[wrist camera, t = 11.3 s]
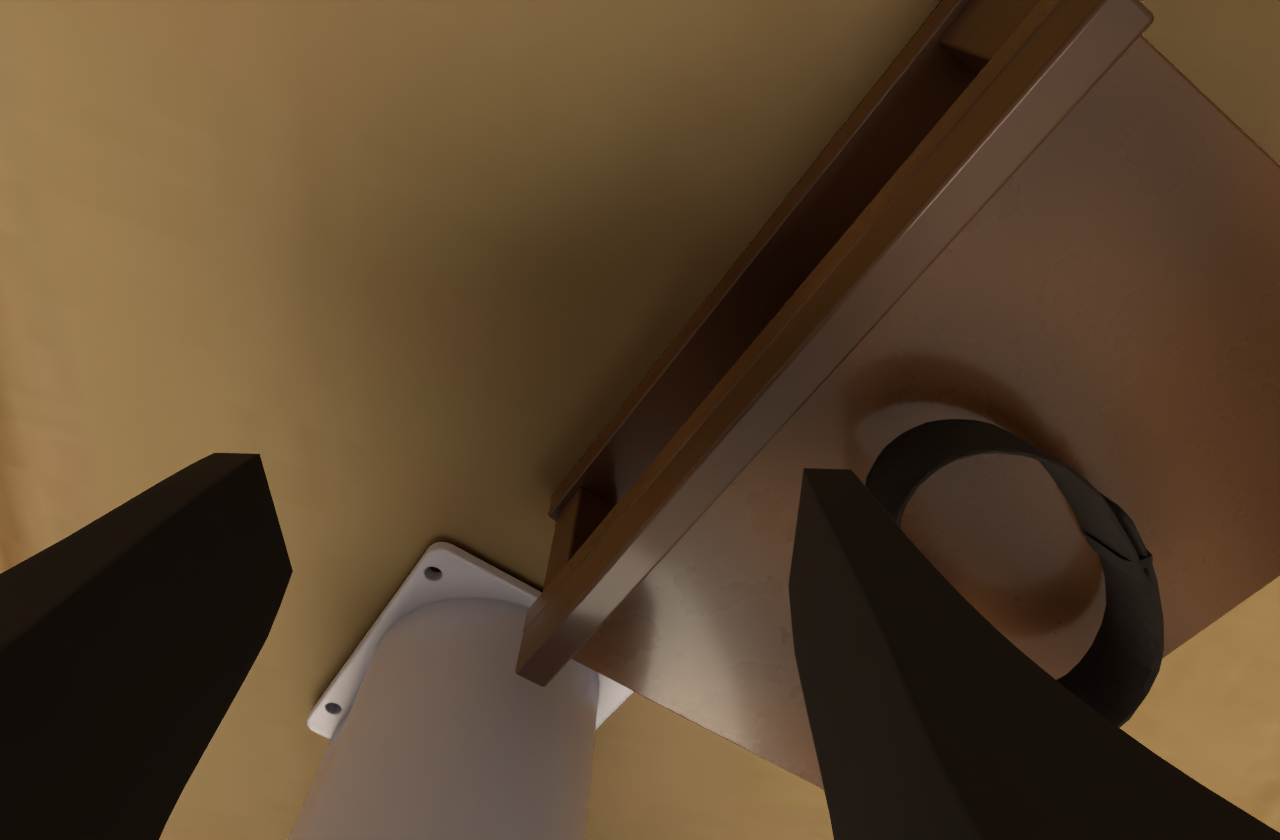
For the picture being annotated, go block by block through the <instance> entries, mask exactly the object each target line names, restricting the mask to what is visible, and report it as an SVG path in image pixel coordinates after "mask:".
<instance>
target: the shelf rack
mask: <svg viewBox="0 0 1280 840" xmlns="http://www.w3.org/2000/svg"><path fill="white" fill-rule="evenodd" d="M1153 20H1154V17H1153V14H1152V13H1151V12H1150V11H1149V10H1148V9H1147V8H1146V7H1145V6H1144V5H1143V4H1142V3H1141V2H1140V1H1139V0H942V1H941V2H940V3H939V5H938V6H937V7H936V9H935V10H934V11H933V12H932V14H931V15H930V16H929V17H928V19H927V20H926V21H925V23H924V24H923V25H922V26H921V28H920V29H919V30H918V31H917V33H916V34H915V35H914V37H913V38H912V39H911V40H910V42H909V43H908V44H907V45H906V47H905V48H904V49H903V50H902V52H901V53H900V54H899V56H898V57H897V58H896V59H895V61H894V62H893V63H892V64H891V66H890V67H889V68H888V70H887V71H886V72H885V73H884V75H883V76H882V77H881V78H880V80H879V81H878V82H877V83H876V85H875V86H874V87H873V89H872V90H871V91H870V92H869V94H868V95H867V96H866V97H865V99H864V100H863V101H862V103H861V104H860V105H859V106H858V108H857V109H856V110H855V111H854V113H853V114H852V115H851V117H850V118H849V119H848V120H847V122H846V123H845V124H844V125H843V127H842V128H841V129H840V130H839V132H838V133H837V134H836V136H835V137H834V138H833V139H832V141H831V142H830V143H829V144H828V146H827V147H826V148H825V150H824V151H823V152H822V153H821V155H820V156H819V157H818V158H817V160H816V161H815V162H814V163H813V165H812V166H811V167H810V169H809V170H808V171H807V172H806V174H805V175H804V176H803V177H802V179H801V180H800V181H799V183H798V184H797V185H796V186H795V188H794V189H793V190H792V191H791V193H790V194H789V195H788V197H787V198H786V199H785V200H784V202H783V203H782V204H781V205H780V207H779V208H778V209H777V210H776V212H775V213H774V214H773V216H772V217H771V218H770V219H769V221H768V222H767V223H766V224H765V226H764V227H763V228H762V230H761V231H760V232H759V233H758V235H757V236H756V237H755V238H754V240H753V241H752V242H751V243H750V245H749V246H748V247H747V249H746V250H745V251H744V252H743V254H742V255H741V256H740V257H739V259H738V260H737V261H736V263H735V264H734V265H733V266H732V268H731V269H730V270H729V271H728V273H727V274H726V275H725V277H724V278H723V279H722V280H721V282H720V283H719V284H718V285H717V287H716V288H715V289H714V290H713V292H712V293H711V294H710V296H709V297H708V298H707V299H706V301H705V302H704V303H703V304H702V306H701V307H700V308H699V310H698V311H697V312H696V313H695V315H694V316H693V317H692V318H691V320H690V321H689V322H688V324H687V325H686V326H685V327H684V329H683V330H682V331H681V332H680V334H679V335H678V336H677V337H676V339H675V340H674V341H673V343H672V344H671V345H670V346H669V348H668V349H667V350H666V351H665V353H664V354H663V355H662V357H661V358H660V359H659V360H658V362H657V363H656V364H655V365H654V367H653V368H652V369H651V370H650V372H649V373H648V374H647V376H646V377H645V378H644V379H643V381H642V382H641V383H640V384H639V386H638V387H637V388H636V390H635V391H634V392H633V393H632V395H631V396H630V397H629V398H628V400H627V401H626V402H625V404H624V405H623V406H622V407H621V409H620V410H619V411H618V412H617V414H616V415H615V416H614V417H613V419H612V420H611V421H610V423H609V424H608V425H607V426H606V428H605V429H604V430H603V431H602V433H601V434H600V435H599V437H598V438H597V439H596V440H595V442H594V443H593V444H592V445H591V447H590V448H589V449H588V450H587V452H586V453H585V454H584V456H583V457H582V458H581V459H580V461H579V462H578V463H577V464H576V466H575V467H574V468H573V470H572V471H571V472H570V473H569V475H568V476H567V477H566V478H565V480H564V481H563V482H562V484H561V485H560V486H559V487H558V489H557V490H556V491H555V492H554V494H553V495H552V499H551V503H550V508H549V513H548V516H549V517H551V518H553V519H554V520H556V521H557V522H556V527H555V532H554V537H553V542H552V547H551V552H550V557H549V562H548V568H547V573H546V578H545V583H544V588H543V592H542V593H541V595H540V596H539V597H538V598H537V599H536V600H535V602H534V603H533V604H532V605H531V606H530V608H529V609H528V610H527V614H526V619H525V624H524V629H523V636H522V641H521V645H520V650H519V655H518V660H517V664H516V669H515V673H516V674H517V675H519V676H521V677H523V678H525V679H527V680H529V681H531V682H533V683H535V684H537V685H539V686H541V687H546V686H547V685H548V683H549V682H550V681H551V680H552V679H553V678H554V677H555V676H556V675H557V674H558V673H559V671H560V670H561V669H562V668H563V667H564V666H565V665H566V664H567V663H568V662H569V661H570V659H572V660H574V661H576V662H578V663H580V664H582V665H584V666H586V667H588V668H590V669H592V670H594V671H596V672H598V673H600V674H601V675H603V676H605V677H607V678H609V679H611V680H613V681H615V682H617V683H619V684H621V685H623V686H625V687H627V688H629V689H631V690H632V691H634V692H636V693H638V694H640V695H642V696H644V697H646V698H648V699H650V700H652V701H654V702H656V703H658V704H660V705H661V706H663V707H665V708H667V709H669V710H671V711H673V712H675V713H677V714H679V715H681V716H683V717H685V718H687V719H689V720H690V721H692V722H694V723H696V724H698V725H700V726H702V727H704V728H706V729H708V730H710V731H712V732H714V733H716V734H718V735H719V736H721V737H723V738H725V739H727V740H729V741H731V742H733V743H735V744H737V745H739V746H741V747H743V748H745V749H747V750H748V751H750V752H752V753H754V754H756V755H758V756H760V757H762V758H764V759H766V760H768V761H770V762H772V763H774V764H776V765H777V766H779V767H781V768H783V769H785V770H787V771H789V772H791V773H793V774H795V775H797V776H799V777H801V778H803V779H805V780H807V781H808V782H810V783H812V784H814V785H816V786H818V787H820V788H822V789H824V786H823V782H822V777H821V773H820V768H819V763H818V759H817V754H816V750H815V745H814V741H813V736H812V732H811V727H810V723H809V718H808V714H807V709H806V705H805V700H804V695H803V691H802V686H801V682H800V677H799V672H798V667H797V663H796V658H795V651H794V641H793V631H792V621H791V610H790V599H789V587H788V586H789V578H790V570H791V562H792V555H793V547H794V539H795V532H796V524H797V516H798V508H799V501H800V493H801V485H802V477H803V470H804V468H816V469H851V470H852V471H853V472H854V473H855V474H856V476H857V477H858V478H859V479H860V480H861V481H862V483H863V484H864V485H865V482H866V477H867V475H868V473H869V471H870V469H871V468H872V466H873V464H874V462H875V460H876V459H877V457H878V456H879V454H880V453H881V452H882V450H883V449H884V447H886V446H887V445H888V444H889V443H890V442H892V441H893V440H894V439H895V438H896V437H898V436H899V435H901V434H902V433H904V432H906V431H908V430H910V429H912V428H914V427H916V426H919V425H921V424H924V423H926V422H931V421H936V420H946V419H968V420H978V421H982V422H986V423H990V424H994V425H996V426H998V427H1000V428H1002V429H1005V430H1007V431H1009V432H1011V433H1013V434H1015V435H1017V436H1019V437H1021V438H1022V439H1024V440H1026V441H1027V442H1029V443H1030V444H1032V445H1034V446H1035V447H1037V448H1039V449H1040V450H1042V451H1044V452H1045V453H1047V454H1048V455H1050V456H1052V457H1053V458H1055V459H1057V460H1058V461H1060V462H1062V463H1063V464H1065V465H1067V466H1068V467H1070V468H1071V469H1072V470H1074V471H1075V472H1077V473H1078V474H1079V475H1081V476H1082V477H1084V478H1085V479H1086V480H1088V481H1089V482H1090V483H1091V484H1092V486H1093V487H1094V488H1095V489H1096V490H1097V491H1098V492H1100V493H1101V494H1103V495H1104V496H1106V497H1107V498H1109V499H1110V500H1112V501H1113V502H1115V503H1116V504H1118V505H1119V506H1120V507H1121V508H1122V509H1123V510H1124V511H1125V512H1126V513H1127V514H1128V516H1129V517H1130V518H1131V519H1132V520H1133V522H1134V524H1135V526H1136V528H1137V531H1138V533H1139V535H1140V537H1141V539H1142V541H1143V543H1144V545H1145V547H1146V549H1147V550H1148V551H1149V552H1150V553H1151V554H1152V557H1153V562H1152V565H1153V568H1154V571H1155V574H1156V577H1157V582H1158V587H1159V593H1160V599H1161V605H1162V611H1163V617H1164V652H1163V656H1162V658H1164V657H1165V656H1166V655H1168V654H1169V653H1171V652H1172V651H1174V650H1175V649H1176V648H1178V647H1179V646H1181V645H1182V644H1183V643H1185V642H1186V641H1188V640H1189V639H1191V638H1192V637H1193V636H1195V635H1196V634H1198V633H1199V632H1200V631H1202V630H1203V629H1205V628H1206V627H1208V626H1209V625H1210V624H1212V623H1213V622H1215V621H1216V620H1217V619H1219V618H1220V617H1222V616H1223V615H1225V614H1226V613H1227V612H1229V611H1230V610H1232V609H1233V608H1234V607H1236V606H1237V605H1239V604H1240V603H1242V602H1243V601H1244V600H1246V599H1247V598H1249V597H1250V596H1251V595H1253V594H1254V593H1256V592H1257V591H1259V590H1260V589H1261V588H1263V587H1264V586H1266V585H1267V584H1269V583H1270V582H1271V581H1273V580H1274V579H1276V578H1277V577H1278V576H1280V166H1279V165H1278V164H1277V163H1276V162H1275V161H1274V160H1273V159H1272V158H1271V157H1270V156H1269V155H1268V154H1267V153H1266V152H1265V151H1264V150H1263V149H1262V148H1260V147H1259V146H1258V145H1257V144H1256V143H1255V142H1254V141H1253V140H1252V139H1251V138H1250V137H1249V136H1248V135H1247V134H1246V133H1245V132H1244V131H1242V130H1241V129H1240V128H1239V127H1238V126H1237V125H1236V124H1235V123H1234V122H1233V121H1232V120H1231V119H1230V118H1229V117H1228V116H1227V115H1226V114H1224V113H1223V112H1222V111H1221V110H1220V109H1219V108H1218V107H1217V106H1216V105H1215V104H1214V103H1213V102H1212V101H1211V100H1210V99H1209V98H1208V97H1206V96H1205V95H1204V94H1203V93H1202V92H1201V91H1200V90H1199V89H1198V88H1197V87H1196V86H1195V85H1194V84H1193V83H1192V82H1191V81H1190V80H1188V79H1187V78H1186V77H1185V76H1184V75H1183V74H1182V73H1181V72H1180V71H1179V70H1178V69H1177V68H1176V67H1175V66H1174V65H1173V64H1172V63H1171V62H1169V61H1168V60H1167V59H1166V58H1165V57H1164V56H1163V55H1162V54H1161V53H1160V52H1159V51H1158V50H1157V49H1156V48H1155V47H1154V46H1153V45H1151V44H1150V43H1149V42H1148V41H1147V40H1146V39H1145V38H1144V37H1143V36H1142V35H1141V34H1142V33H1143V32H1144V31H1145V30H1146V29H1147V28H1148V27H1149V25H1150V24H1151V23H1152V22H1153ZM901 529H902V531H903V532H904V533H905V534H906V535H907V536H908V538H909V539H910V540H911V541H912V542H913V543H914V544H915V546H916V547H917V548H918V549H919V550H920V551H921V552H922V553H923V554H924V556H925V557H926V558H927V559H928V560H929V561H930V562H931V563H932V564H933V565H934V566H935V568H936V569H937V570H938V571H939V572H940V573H941V574H942V575H943V576H944V577H945V578H946V579H947V581H948V582H949V583H950V584H951V585H952V586H953V587H954V588H955V589H956V590H957V591H958V592H959V593H960V594H961V595H962V596H963V597H964V598H965V599H966V600H967V601H968V602H969V603H970V604H971V605H972V606H973V607H974V608H975V609H976V610H977V611H978V612H979V613H980V614H981V615H982V616H983V617H985V618H986V619H987V620H988V621H989V622H990V623H991V624H992V625H993V626H994V627H995V628H996V629H997V630H998V631H999V632H1000V633H1001V634H1003V635H1004V636H1005V637H1006V638H1007V639H1008V640H1009V641H1010V642H1012V643H1013V644H1014V645H1015V646H1016V647H1017V648H1018V649H1019V650H1021V651H1022V652H1023V653H1024V654H1025V655H1027V656H1028V657H1029V658H1030V659H1031V660H1033V661H1034V662H1035V663H1036V664H1037V665H1039V666H1040V667H1041V668H1042V669H1043V670H1045V671H1046V672H1047V673H1048V674H1049V675H1051V676H1052V677H1053V678H1054V679H1055V680H1057V679H1059V678H1061V677H1062V676H1064V675H1066V674H1067V673H1068V672H1069V671H1070V670H1072V669H1073V668H1074V667H1075V666H1076V665H1077V664H1078V663H1079V662H1080V661H1081V659H1082V658H1083V657H1084V655H1085V654H1086V653H1087V651H1088V650H1089V648H1090V647H1091V646H1092V644H1093V641H1094V639H1095V637H1096V635H1097V633H1098V631H1099V628H1100V626H1101V624H1102V620H1103V616H1104V612H1105V607H1106V591H1105V576H1104V573H1103V569H1102V565H1101V561H1100V558H1099V554H1097V553H1096V552H1095V551H1094V550H1093V549H1092V548H1091V547H1090V546H1089V545H1088V543H1087V540H1086V538H1085V535H1084V534H1083V532H1082V529H1081V525H1080V523H1079V520H1078V518H1077V515H1076V513H1075V512H1074V510H1073V509H1072V507H1071V505H1070V504H1069V502H1068V501H1067V499H1066V498H1065V496H1064V495H1063V493H1062V491H1061V490H1060V488H1059V487H1058V485H1057V484H1056V482H1055V481H1054V479H1053V478H1052V476H1051V475H1050V474H1049V472H1048V471H1047V470H1046V469H1045V468H1044V467H1043V465H1042V464H1041V463H1040V462H1039V461H1038V460H1036V459H1032V458H1029V457H1025V456H1020V455H1010V454H1000V453H995V454H982V455H975V456H971V457H968V458H964V459H961V460H957V461H954V462H952V463H950V464H948V465H946V466H945V467H943V468H941V469H939V470H937V471H936V472H935V473H934V474H932V475H931V476H930V477H929V478H928V479H927V480H925V481H924V482H923V483H922V484H921V485H920V486H919V487H918V488H917V490H916V491H915V493H914V494H913V496H912V498H911V499H910V501H909V502H908V504H907V505H906V508H905V511H904V514H903V516H902V521H901Z"/></svg>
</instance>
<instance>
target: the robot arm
mask: <svg viewBox="0 0 1280 840" xmlns="http://www.w3.org/2000/svg"><path fill="white" fill-rule="evenodd" d="M429 567H436V568H438V569H439V570H441V572H435V571H432V570H431V569H429ZM291 574H292V567H291V563H290V560H289V556H288V553H287V549H286V546H285V542H284V539H283V535H282V532H281V528H280V525H279V521H278V518H277V514H276V510H275V507H274V503H273V500H272V496H271V493H270V489H269V486H268V482H267V479H266V475H265V472H264V468H263V465H262V461H261V457H260V454H239V453H213V454H211V455H209V456H207V457H205V458H203V459H201V460H199V461H197V462H195V463H193V464H191V465H190V466H188V467H186V468H184V469H182V470H180V471H179V472H177V473H175V474H173V475H172V476H170V477H168V478H166V479H165V480H163V481H161V482H160V483H158V484H156V485H154V486H153V487H151V488H149V489H148V490H146V491H144V492H143V493H141V494H139V495H138V496H136V497H134V498H132V499H131V500H129V501H127V502H126V503H124V504H122V505H121V506H119V507H117V508H116V509H114V510H112V511H110V512H109V513H107V514H105V515H104V516H102V517H100V518H99V519H97V520H95V521H94V522H92V523H90V524H88V525H87V526H85V527H83V528H82V529H80V530H78V531H77V532H75V533H73V534H71V535H70V536H68V537H66V538H65V539H63V540H61V541H59V542H58V543H56V544H54V545H52V546H50V547H49V548H47V549H45V550H43V551H41V552H39V553H38V554H36V555H34V556H32V557H30V558H29V559H27V560H25V561H23V562H21V563H19V564H18V565H16V566H14V567H12V568H10V569H9V570H7V571H5V572H3V573H1V574H0V840H159V838H160V836H161V833H162V831H163V829H164V827H165V824H166V822H167V820H168V818H169V816H170V814H171V812H172V810H173V808H174V806H175V805H176V803H177V801H178V799H179V797H180V795H181V793H182V791H183V789H184V787H185V785H186V783H187V782H188V780H189V778H190V776H191V774H192V773H193V771H194V769H195V767H196V766H197V764H198V762H199V760H200V758H201V757H202V755H203V753H204V751H205V749H206V748H207V746H208V744H209V742H210V741H211V739H212V737H213V735H214V733H215V732H216V730H217V728H218V726H219V725H220V723H221V721H222V719H223V717H224V716H225V714H226V712H227V710H228V708H229V707H230V705H231V703H232V701H233V700H234V698H235V696H236V694H237V692H238V691H239V689H240V687H241V685H242V683H243V682H244V680H245V678H246V676H247V674H248V672H249V671H250V669H251V667H252V665H253V663H254V661H255V660H256V658H257V656H258V654H259V652H260V650H261V649H262V647H263V645H264V643H265V641H266V639H267V637H268V635H269V632H270V630H271V627H272V625H273V622H274V620H275V617H276V615H277V612H278V610H279V607H280V605H281V602H282V599H283V596H284V594H285V591H286V588H287V585H288V583H289V580H290V577H291ZM788 587H789V599H790V610H791V621H792V631H793V641H794V651H795V658H796V663H797V667H798V672H799V677H800V682H801V686H802V691H803V695H804V700H805V705H806V709H807V714H808V718H809V723H810V727H811V732H812V736H813V741H814V745H815V750H816V754H817V759H818V763H819V768H820V773H821V777H822V782H823V786H824V791H825V795H826V800H827V804H828V809H829V813H830V819H831V824H832V830H833V836H834V840H1280V833H1279V832H1277V831H1276V830H1274V829H1272V828H1271V827H1269V826H1267V825H1266V824H1264V823H1262V822H1261V821H1259V820H1258V819H1256V818H1254V817H1253V816H1251V815H1250V814H1248V813H1246V812H1245V811H1243V810H1242V809H1240V808H1238V807H1237V806H1235V805H1234V804H1232V803H1230V802H1229V801H1227V800H1225V799H1224V798H1222V797H1221V796H1219V795H1217V794H1216V793H1214V792H1213V791H1211V790H1209V789H1208V788H1206V787H1205V786H1203V785H1201V784H1200V783H1198V782H1197V781H1195V780H1194V779H1192V778H1191V777H1189V776H1188V775H1186V774H1185V773H1183V772H1182V771H1180V770H1179V769H1177V768H1176V767H1174V766H1173V765H1171V764H1170V763H1168V762H1167V761H1165V760H1164V759H1162V758H1161V757H1159V756H1158V755H1156V754H1155V753H1153V752H1152V751H1150V750H1149V749H1148V748H1146V747H1145V746H1144V745H1142V744H1141V743H1139V742H1138V741H1137V740H1135V739H1134V738H1132V737H1131V736H1130V735H1128V734H1127V733H1125V732H1124V731H1123V730H1121V729H1120V728H1118V727H1117V726H1116V725H1114V724H1113V723H1111V722H1110V721H1109V720H1107V719H1106V718H1104V717H1103V716H1102V715H1100V714H1099V713H1098V712H1096V711H1095V710H1094V709H1092V708H1091V707H1090V706H1088V705H1087V704H1086V703H1084V702H1083V701H1082V700H1081V699H1079V698H1078V697H1077V696H1075V695H1074V694H1073V693H1071V692H1070V691H1069V690H1068V689H1066V688H1065V687H1064V686H1063V685H1061V684H1060V683H1059V682H1058V681H1057V680H1055V679H1054V678H1053V677H1052V676H1051V675H1049V674H1048V673H1047V672H1046V671H1045V670H1043V669H1042V668H1041V667H1040V666H1039V665H1037V664H1036V663H1035V662H1034V661H1033V660H1031V659H1030V658H1029V657H1028V656H1027V655H1025V654H1024V653H1023V652H1022V651H1021V650H1019V649H1018V648H1017V647H1016V646H1015V645H1014V644H1013V643H1012V642H1010V641H1009V640H1008V639H1007V638H1006V637H1005V636H1004V635H1003V634H1001V633H1000V632H999V631H998V630H997V629H996V628H995V627H994V626H993V625H992V624H991V623H990V622H989V621H988V620H987V619H986V618H985V617H983V616H982V615H981V614H980V613H979V612H978V611H977V610H976V609H975V608H974V607H973V606H972V605H971V604H970V603H969V602H968V601H967V600H966V599H965V598H964V597H963V596H962V595H961V594H960V593H959V592H958V591H957V590H956V589H955V588H954V587H953V586H952V585H951V584H950V583H949V582H948V581H947V579H946V578H945V577H944V576H943V575H942V574H941V573H940V572H939V571H938V570H937V569H936V568H935V566H934V565H933V564H932V563H931V562H930V561H929V560H928V559H927V558H926V557H925V556H924V554H923V553H922V552H921V551H920V550H919V549H918V548H917V547H916V546H915V544H914V543H913V542H912V541H911V540H910V539H909V538H908V536H907V535H906V534H905V533H904V532H903V531H902V529H901V528H900V527H899V526H898V525H897V524H896V522H895V521H894V520H893V519H892V518H891V516H890V515H889V514H888V513H887V512H886V510H885V509H884V508H883V507H882V506H881V504H880V503H879V502H878V501H877V500H876V498H875V497H874V496H873V495H872V493H871V492H870V491H869V490H868V489H867V487H866V486H865V485H864V484H863V483H862V481H861V480H860V479H859V478H858V477H857V476H856V474H855V473H854V472H853V471H852V470H851V469H816V468H804V470H803V477H802V485H801V493H800V501H799V508H798V516H797V524H796V532H795V539H794V547H793V555H792V562H791V570H790V578H789V586H788ZM541 593H542V592H540V591H538V590H536V589H535V588H533V587H531V586H529V585H527V584H525V583H523V582H522V581H520V580H518V579H516V578H514V577H512V576H510V575H508V574H507V573H505V572H503V571H501V570H499V569H497V568H495V567H494V566H492V565H490V564H488V563H486V562H484V561H482V560H480V559H479V558H477V557H475V556H473V555H471V554H469V553H467V552H466V551H464V550H462V549H460V548H458V547H456V546H454V545H452V544H450V543H447V542H437V543H434V544H432V545H431V546H430V547H429V548H428V549H427V551H426V552H425V553H424V555H423V556H422V558H421V559H420V560H419V562H418V563H417V565H416V566H415V567H414V569H413V570H412V571H411V573H410V574H409V576H408V577H407V578H406V580H405V581H404V583H403V584H402V585H401V587H400V588H399V589H398V591H397V592H396V594H395V595H394V596H393V598H392V599H391V600H390V602H389V603H388V605H387V606H386V607H385V609H384V610H383V612H382V613H381V614H380V616H379V617H378V618H377V620H376V621H375V623H374V624H373V625H372V627H371V628H370V630H369V631H368V632H367V634H366V635H365V636H364V638H363V639H362V641H361V642H360V643H359V645H358V646H357V647H356V649H355V650H354V652H353V653H352V654H351V656H350V657H349V659H348V660H347V661H346V663H345V664H344V665H343V667H342V668H341V670H340V671H339V672H338V674H337V675H336V677H335V678H334V679H333V681H332V682H331V683H330V685H329V686H328V688H327V689H326V690H325V692H324V693H323V694H322V696H321V697H320V699H319V700H318V701H317V703H316V704H315V706H314V707H313V708H312V710H311V711H310V713H309V716H308V718H307V721H306V723H307V726H308V727H309V728H310V730H312V731H313V732H315V733H317V734H319V735H321V736H324V737H326V738H328V739H330V743H329V745H328V747H327V750H326V752H325V754H324V757H323V759H322V761H321V764H320V766H319V768H318V771H317V773H316V775H315V778H314V780H313V782H312V785H311V787H310V789H309V792H308V794H307V796H306V799H305V801H304V803H303V806H302V808H301V810H300V813H299V815H298V817H297V820H296V822H295V824H294V827H293V829H292V831H291V834H290V836H289V838H288V840H585V834H586V823H587V812H588V802H589V791H590V781H591V770H592V759H593V749H594V738H595V730H596V729H597V728H598V727H599V726H600V725H601V724H602V723H603V722H604V721H605V720H606V719H607V718H608V717H609V716H610V715H611V714H612V713H613V712H614V711H615V710H616V709H617V708H618V707H619V706H620V705H621V704H622V703H623V702H624V701H625V700H626V699H627V698H628V697H629V696H630V695H631V694H632V693H633V692H634V691H632V690H631V689H629V688H627V687H625V686H623V685H621V684H619V683H617V682H615V681H613V680H611V679H609V678H607V677H605V676H603V675H601V674H600V673H598V672H596V671H594V670H592V669H590V668H588V667H586V666H584V665H582V664H580V663H578V662H576V661H574V660H572V659H570V661H569V662H568V663H567V664H566V665H565V666H564V667H563V668H562V669H561V670H560V671H559V673H558V674H557V675H556V676H555V677H554V678H553V679H552V680H551V681H550V682H549V683H548V685H547V686H546V687H541V686H539V685H537V684H535V683H533V682H531V681H529V680H527V679H525V678H523V677H521V676H519V675H517V674H516V673H515V669H516V664H517V660H518V655H519V650H520V645H521V641H522V636H523V629H524V624H525V619H526V614H527V610H528V609H529V608H530V606H531V605H532V604H533V603H534V602H535V600H536V599H537V598H538V597H539V596H540V595H541ZM334 703H336V704H334Z"/></svg>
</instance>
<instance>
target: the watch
mask: <svg viewBox="0 0 1280 840" xmlns="http://www.w3.org/2000/svg"><path fill="white" fill-rule="evenodd" d="M995 453H1000V454H1010V455H1020V456H1025V457H1029V458H1032V459H1036V460H1038V461H1039V462H1040V463H1041V464H1042V465H1043V467H1044V468H1045V469H1046V470H1047V471H1048V472H1049V474H1050V475H1051V476H1052V478H1053V479H1054V481H1055V482H1056V484H1057V485H1058V487H1059V488H1060V490H1061V491H1062V493H1063V495H1064V496H1065V498H1066V499H1067V501H1068V502H1069V504H1070V505H1071V507H1072V509H1073V510H1074V512H1075V513H1076V515H1077V518H1078V520H1079V523H1080V525H1081V529H1082V532H1083V534H1084V535H1085V538H1086V540H1087V543H1088V545H1089V546H1090V547H1091V548H1092V549H1093V550H1094V551H1095V552H1096V553H1097V554H1099V558H1100V561H1101V565H1102V569H1103V573H1104V576H1105V591H1106V607H1105V612H1104V616H1103V620H1102V624H1101V626H1100V628H1099V631H1098V633H1097V635H1096V637H1095V639H1094V641H1093V644H1092V646H1091V647H1090V648H1089V650H1088V651H1087V653H1086V654H1085V655H1084V657H1083V658H1082V659H1081V661H1080V662H1079V663H1078V664H1077V665H1076V666H1075V667H1074V668H1073V669H1072V670H1070V671H1069V672H1068V673H1067V674H1066V675H1064V676H1062V677H1061V678H1059V679H1057V681H1058V682H1059V683H1060V684H1061V685H1063V686H1064V687H1065V688H1066V689H1068V690H1069V691H1070V692H1071V693H1073V694H1074V695H1075V696H1077V697H1078V698H1079V699H1081V700H1082V701H1083V702H1084V703H1086V704H1087V705H1088V706H1090V707H1091V708H1092V709H1094V710H1095V711H1096V712H1098V713H1099V714H1100V715H1102V716H1103V717H1104V718H1106V719H1107V720H1109V721H1110V722H1111V723H1113V724H1114V725H1116V726H1117V727H1118V728H1120V727H1121V726H1122V725H1123V724H1124V723H1126V722H1127V721H1128V720H1129V719H1130V718H1131V717H1132V715H1133V714H1134V712H1135V711H1136V710H1137V708H1138V707H1139V705H1140V704H1141V703H1142V701H1143V700H1144V699H1145V697H1146V696H1147V694H1148V693H1149V691H1150V689H1151V687H1152V685H1153V683H1154V681H1155V679H1156V677H1157V675H1158V672H1159V670H1160V665H1161V661H1162V656H1163V652H1164V617H1163V611H1162V605H1161V599H1160V593H1159V587H1158V582H1157V577H1156V574H1155V571H1154V568H1153V565H1152V562H1153V557H1152V554H1151V553H1150V552H1149V551H1148V550H1147V549H1146V547H1145V545H1144V543H1143V541H1142V539H1141V537H1140V535H1139V533H1138V531H1137V528H1136V526H1135V524H1134V522H1133V520H1132V519H1131V518H1130V517H1129V516H1128V514H1127V513H1126V512H1125V511H1124V510H1123V509H1122V508H1121V507H1120V506H1119V505H1118V504H1116V503H1115V502H1113V501H1112V500H1110V499H1109V498H1107V497H1106V496H1104V495H1103V494H1101V493H1100V492H1098V491H1097V490H1096V489H1095V488H1094V487H1093V486H1092V484H1091V483H1090V482H1089V481H1088V480H1086V479H1085V478H1084V477H1082V476H1081V475H1079V474H1078V473H1077V472H1075V471H1074V470H1072V469H1071V468H1070V467H1068V466H1067V465H1065V464H1063V463H1062V462H1060V461H1058V460H1057V459H1055V458H1053V457H1052V456H1050V455H1048V454H1047V453H1045V452H1044V451H1042V450H1040V449H1039V448H1037V447H1035V446H1034V445H1032V444H1030V443H1029V442H1027V441H1026V440H1024V439H1022V438H1021V437H1019V436H1017V435H1015V434H1013V433H1011V432H1009V431H1007V430H1005V429H1002V428H1000V427H998V426H996V425H994V424H990V423H986V422H982V421H978V420H968V419H946V420H936V421H931V422H926V423H924V424H921V425H919V426H916V427H914V428H912V429H910V430H908V431H906V432H904V433H902V434H901V435H899V436H898V437H896V438H895V439H894V440H893V441H892V442H890V443H889V444H888V445H887V446H886V447H884V449H883V450H882V452H881V453H880V454H879V456H878V457H877V459H876V460H875V462H874V464H873V466H872V468H871V469H870V471H869V473H868V475H867V477H866V482H865V486H866V487H867V489H868V490H869V491H870V492H871V493H872V495H873V496H874V497H875V498H876V500H877V501H878V502H879V503H880V504H881V506H882V507H883V508H884V509H885V510H886V512H887V513H888V514H889V515H890V516H891V518H892V519H893V520H894V521H895V522H896V524H897V525H898V526H899V527H900V528H901V521H902V516H903V514H904V511H905V508H906V505H907V504H908V502H909V501H910V499H911V498H912V496H913V494H914V493H915V491H916V490H917V488H918V487H919V486H920V485H921V484H922V483H923V482H924V481H925V480H927V479H928V478H929V477H930V476H931V475H932V474H934V473H935V472H936V471H937V470H939V469H941V468H943V467H945V466H946V465H948V464H950V463H952V462H954V461H957V460H961V459H964V458H968V457H971V456H975V455H982V454H995Z"/></svg>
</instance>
